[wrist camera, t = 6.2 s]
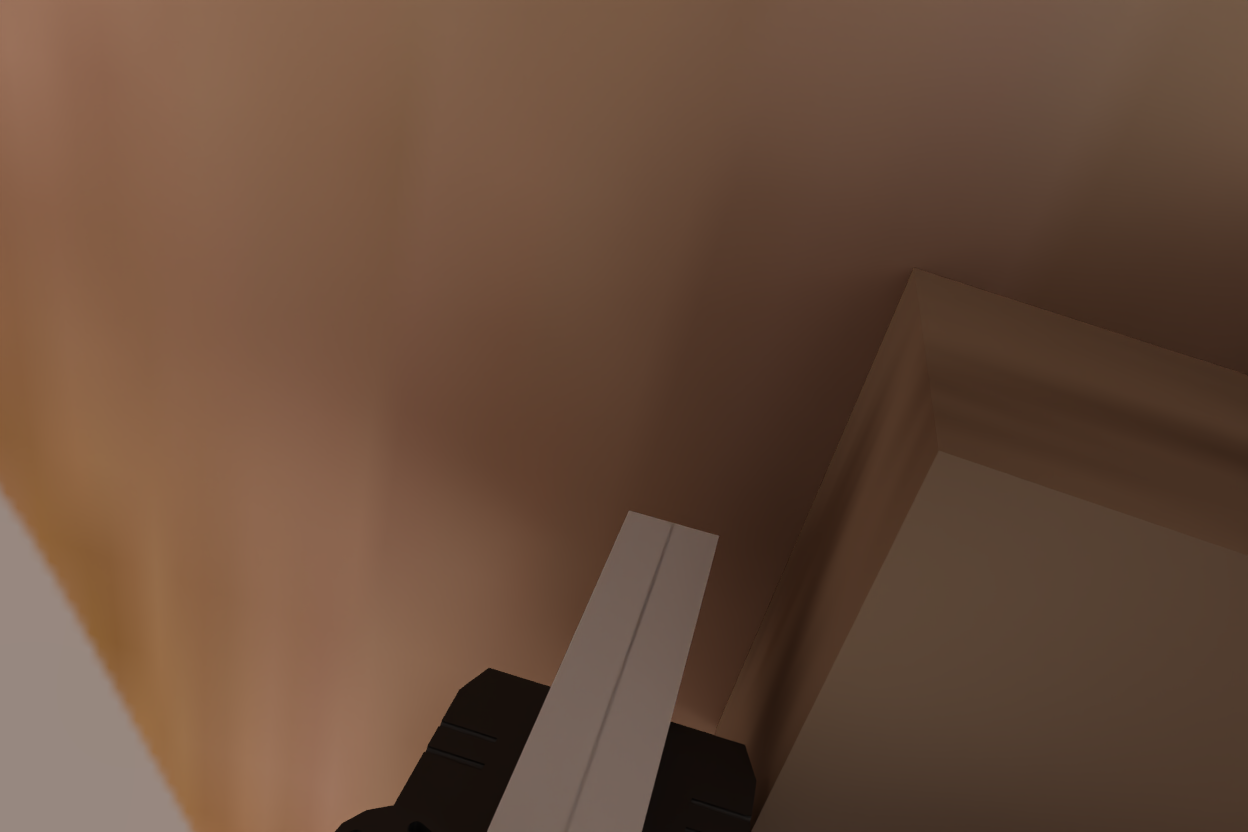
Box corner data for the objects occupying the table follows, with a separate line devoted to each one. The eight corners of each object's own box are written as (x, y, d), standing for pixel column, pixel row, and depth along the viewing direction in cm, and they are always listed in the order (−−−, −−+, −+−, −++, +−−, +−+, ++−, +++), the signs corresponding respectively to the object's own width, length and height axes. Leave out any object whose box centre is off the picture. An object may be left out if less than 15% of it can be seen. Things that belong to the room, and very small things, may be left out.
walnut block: (913, 266, 14) (938, 450, 9) (1463, 443, 13) (1860, 764, 8) (716, 727, 19) (655, 1026, 13) (1111, 876, 18) (1211, 1255, 13)
